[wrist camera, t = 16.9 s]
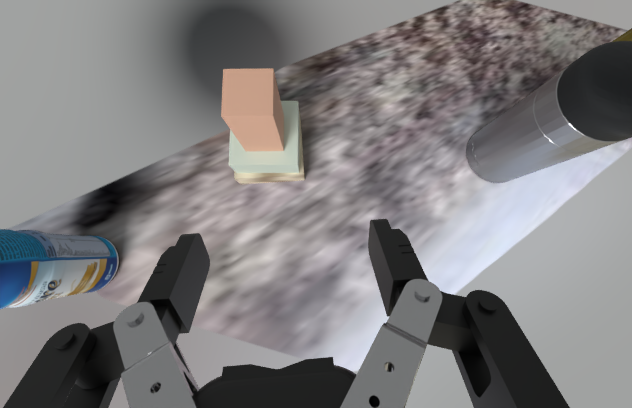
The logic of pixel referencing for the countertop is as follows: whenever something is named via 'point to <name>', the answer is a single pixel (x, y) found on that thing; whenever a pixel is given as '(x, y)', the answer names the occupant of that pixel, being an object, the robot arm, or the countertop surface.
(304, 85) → the countertop surface
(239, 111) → the square block
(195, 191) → the countertop surface
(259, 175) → the tower base
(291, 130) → the tower top
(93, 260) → the beverage bottle
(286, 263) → the countertop surface
